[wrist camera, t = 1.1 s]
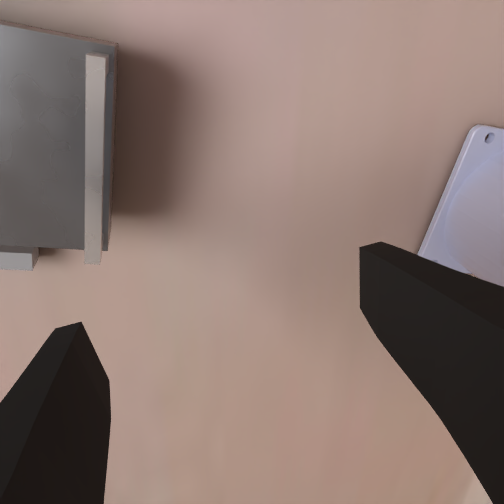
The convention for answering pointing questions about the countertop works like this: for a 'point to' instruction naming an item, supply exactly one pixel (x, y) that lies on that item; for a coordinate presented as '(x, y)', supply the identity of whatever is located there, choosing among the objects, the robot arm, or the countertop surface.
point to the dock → (18, 257)
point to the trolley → (56, 139)
